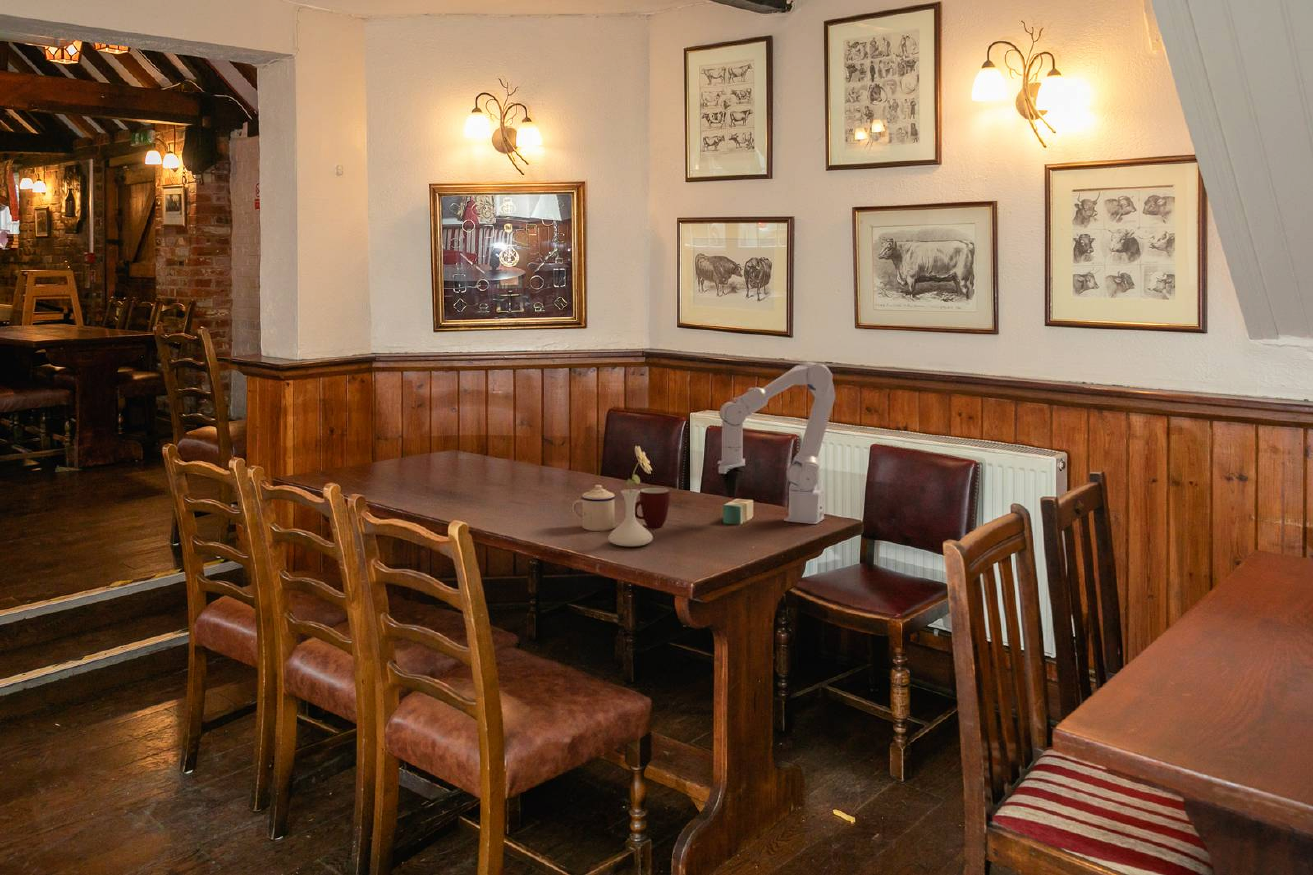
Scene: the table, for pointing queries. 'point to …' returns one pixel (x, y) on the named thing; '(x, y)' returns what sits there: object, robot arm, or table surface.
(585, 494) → the teacup with lid
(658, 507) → the mug
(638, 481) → the flower in vase
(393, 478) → the table surface
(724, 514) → the birch block
